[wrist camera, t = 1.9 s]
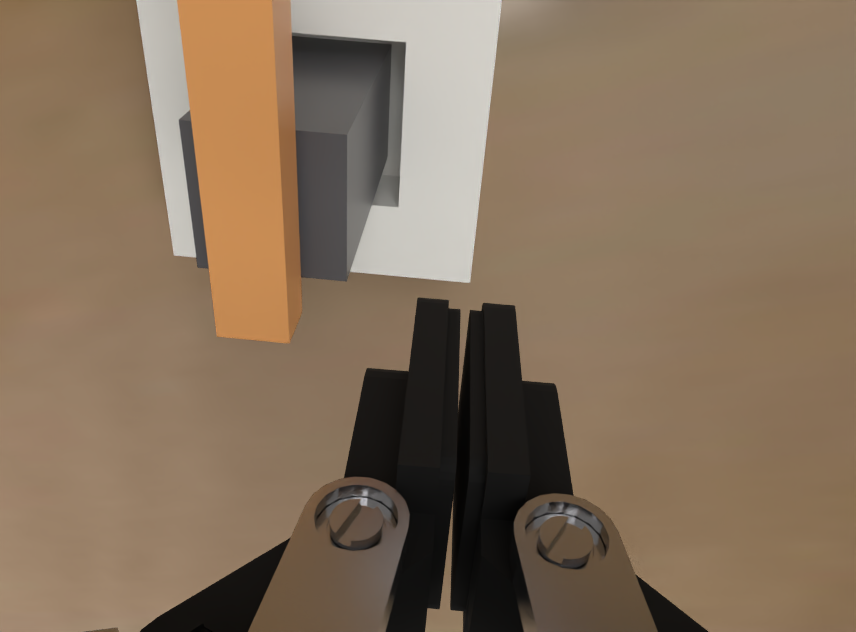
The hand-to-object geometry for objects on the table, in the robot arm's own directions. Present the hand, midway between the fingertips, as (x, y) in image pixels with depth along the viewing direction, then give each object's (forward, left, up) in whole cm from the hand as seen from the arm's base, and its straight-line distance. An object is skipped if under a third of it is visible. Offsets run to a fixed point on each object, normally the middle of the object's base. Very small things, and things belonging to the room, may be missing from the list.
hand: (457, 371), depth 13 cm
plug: (+5, +1, -18) cm, 19 cm away
